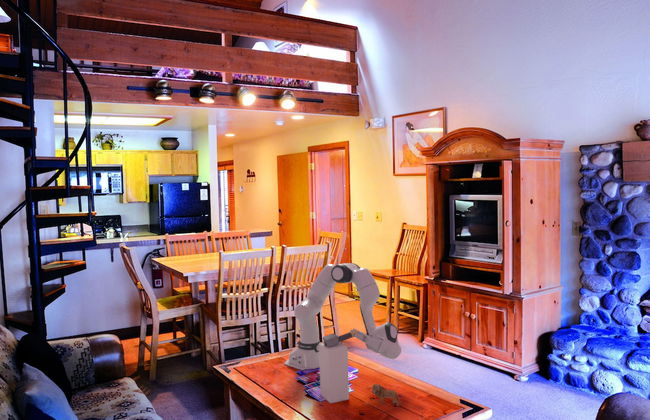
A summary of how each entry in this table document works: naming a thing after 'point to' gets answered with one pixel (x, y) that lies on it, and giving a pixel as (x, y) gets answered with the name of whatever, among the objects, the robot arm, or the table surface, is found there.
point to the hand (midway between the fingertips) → (352, 332)
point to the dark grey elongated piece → (337, 338)
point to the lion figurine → (385, 393)
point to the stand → (334, 372)
